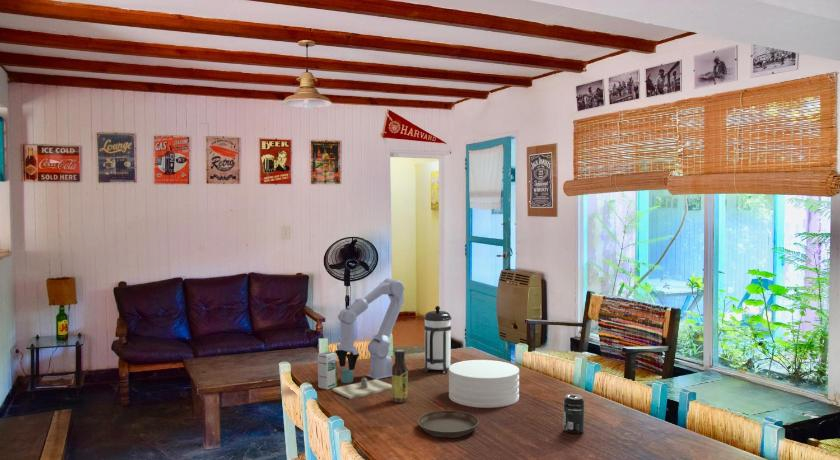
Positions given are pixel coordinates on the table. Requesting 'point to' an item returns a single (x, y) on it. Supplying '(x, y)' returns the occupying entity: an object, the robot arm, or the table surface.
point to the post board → (363, 388)
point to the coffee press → (437, 340)
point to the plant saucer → (448, 423)
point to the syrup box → (327, 370)
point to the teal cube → (347, 376)
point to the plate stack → (484, 383)
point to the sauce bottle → (399, 378)
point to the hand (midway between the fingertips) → (347, 368)
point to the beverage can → (573, 413)
